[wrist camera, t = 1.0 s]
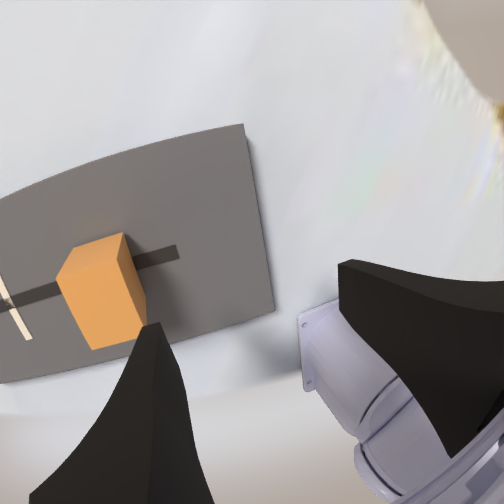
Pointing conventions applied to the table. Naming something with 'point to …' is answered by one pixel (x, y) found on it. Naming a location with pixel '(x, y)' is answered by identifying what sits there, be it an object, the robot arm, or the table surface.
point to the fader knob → (104, 291)
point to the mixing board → (135, 247)
